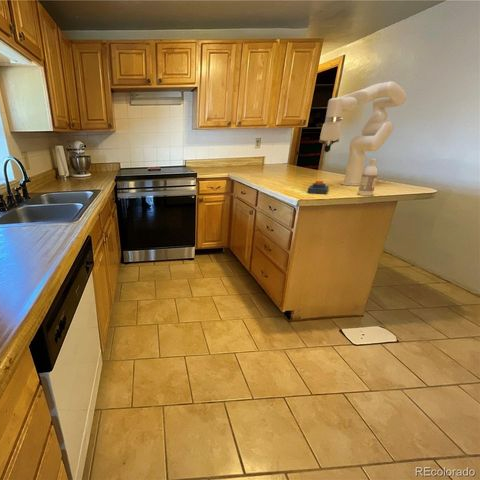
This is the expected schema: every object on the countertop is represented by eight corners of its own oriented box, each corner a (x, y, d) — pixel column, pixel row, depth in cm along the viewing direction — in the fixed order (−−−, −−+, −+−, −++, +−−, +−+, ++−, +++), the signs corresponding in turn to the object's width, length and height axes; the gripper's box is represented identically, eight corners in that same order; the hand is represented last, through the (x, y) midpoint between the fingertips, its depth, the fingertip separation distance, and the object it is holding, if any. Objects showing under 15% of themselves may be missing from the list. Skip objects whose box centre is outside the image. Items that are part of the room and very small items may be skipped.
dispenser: (310, 189, 175) (311, 181, 173) (328, 190, 169) (329, 182, 167) (307, 193, 165) (308, 185, 163) (326, 194, 159) (327, 186, 158)
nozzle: (315, 183, 168) (316, 180, 167) (323, 184, 166) (323, 180, 165) (315, 184, 165) (315, 181, 164) (322, 185, 163) (323, 181, 162)
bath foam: (369, 196, 150) (378, 159, 143) (355, 194, 156) (363, 159, 148) (374, 194, 154) (383, 158, 146) (360, 192, 159) (369, 158, 152)
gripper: (347, 119, 160) (341, 151, 167) (319, 121, 168) (314, 151, 175) (346, 119, 154) (340, 152, 161) (317, 121, 163) (312, 152, 169)
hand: (326, 152), depth 168 cm, fingers closed
